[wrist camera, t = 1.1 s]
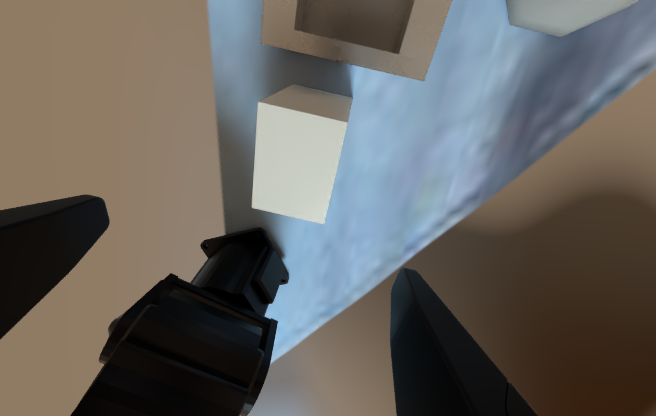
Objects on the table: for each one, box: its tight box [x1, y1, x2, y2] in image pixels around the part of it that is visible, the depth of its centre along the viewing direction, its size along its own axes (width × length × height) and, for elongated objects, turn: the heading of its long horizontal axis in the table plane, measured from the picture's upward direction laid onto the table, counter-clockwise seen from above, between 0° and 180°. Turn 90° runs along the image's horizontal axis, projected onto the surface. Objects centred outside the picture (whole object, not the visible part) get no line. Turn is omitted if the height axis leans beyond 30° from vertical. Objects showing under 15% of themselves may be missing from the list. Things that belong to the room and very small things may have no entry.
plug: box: [252, 84, 353, 224], centre depth 16 cm, size 6×4×7 cm
